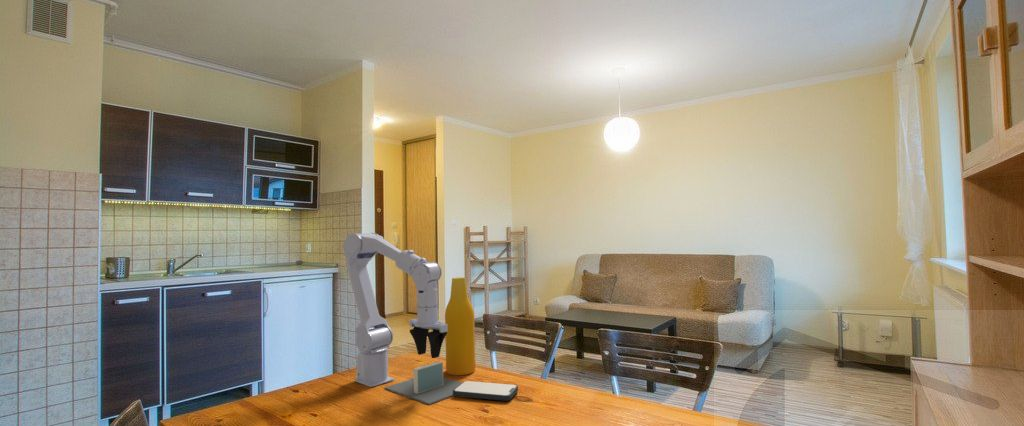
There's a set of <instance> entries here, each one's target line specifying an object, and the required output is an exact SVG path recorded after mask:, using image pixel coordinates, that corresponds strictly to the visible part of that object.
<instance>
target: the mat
mask: <svg viewBox="0 0 1024 426" xmlns="http://www.w3.org/2000/svg"><path fill="white" fill-rule="evenodd" d="M461 383H463V381H458V380H454V379H453V378H452V379H451V378H447V377H444V376H443V385H442V386H439V387H436V388H433V389H430V390H427V391H424V392H421V393H418V394H417V393H414V378H412V379H411V378H410V379H408V380H405V381H401V382H398V383H395V384H392V385H388V386H385V387H384V390H387V391H389V392H393V393H396V394H398V395H401V396H403V397H405V398H408V399H412V400H414V401H417V402H420V403H423V404H426V405H428V406H430V405H433V404H436V403H438V402H441V401H444V400H447V399H450V398H452V397H455V396H454V395H453V390H454V389H455V388H456V387H458V386H459V385H460V384H461Z"/></svg>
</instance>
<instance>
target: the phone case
mask: <svg viewBox="0 0 1024 426" xmlns="http://www.w3.org/2000/svg"><path fill="white" fill-rule="evenodd" d="M517 392H519V386H518V385H517V384H509V383H508V384H506V383H497V382H483V381H471V380H465V381H462V383H461V384H460V385H459V386H458V387H456V388H455V389H454V390H453V395H454V396H453V397H462V398H470V399H482V400H492V401H505V402H508V401H511V400H512V398H513V397H514V396H515V395H516V394H517Z"/></svg>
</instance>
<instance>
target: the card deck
mask: <svg viewBox="0 0 1024 426" xmlns="http://www.w3.org/2000/svg"><path fill="white" fill-rule="evenodd" d="M443 377H444V362H443V361H440V360H438V361H435V362H431V363H429V364H428V363H427V364H424V365H421V366H418V367H414V368H413V379H414V393H417V394H418V393H421V392H424V391H427V390H430V389H433V388H436V387H439V386H442V385H443Z"/></svg>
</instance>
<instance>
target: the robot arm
mask: <svg viewBox="0 0 1024 426" xmlns="http://www.w3.org/2000/svg"><path fill="white" fill-rule="evenodd" d="M342 247H343V248H342V249H343V252H344V255H345V259H346V260H345V262H346V263H345V264H346V268H347V273H348V276H349V282H350V285H351V288H352V292H353V296H354V299H355V300H354V301H355V304H356V308H357V311H358V315H359V319H360V322H359V323H358V325H357V326H356V327H355V330H354V331H355V334H356V335H355V336H356V337H355V343H356V344H355V345H356V348H357V350H359V353H357V356H356V378H355V379H353V381H354V382H356V383H357V384H358V383H359V384H362V385H364V386H366V387H370V388H373V387H376V386H380V385H382V384H383V385H384V384H386V383H389V382H392V381H395V378H394V377H391V376H389V360H388V359H389V358H388V357H389V356H388V355H389V353H388V350H389V349H390V345H391V344H392V342H393V340H394V333H393V330H392V329H391V327H390V326H389V324H388V320H387V319H385V318H384V317H382V316H381V315H380V312H379V308H378V306H377V301H376V298H375V293H374V290H373V286H372V282H371V279H370V275H369V271H368V267H367V265H368V264H369V262H370V261H371V260H372V259H374V257H375V256H376V255H377V254H380V255H382V256H384V257H386V258H388V259H390V260H392V261H394V262H395V267H396V268H398V269H399V270H401V271H402V272H404V273H405V274H408V275H409V276H411V278H412V281H413V282H414V285H415V289H416V310H417V311H416V317H417V318H413V319H412V318H411V319H409V327H410V328H411V329H409V333H410V335H411V336H412V339H413V341H414V343H415V347H416V351H417V355H419V356H420V355H423V354H426V352H427V340H428V341H429V346H430V347H429V348H430V356H431V358H432V359H437V358H439V357H440V354H441V349H442V345H443V343H444V340H445V336H446V334H447V331H448V324H445V322H443V321H440V320H439V293H438V290H439V289H438V288H439V286H438V281H440V279H441V277H442V268H441V266H440V265H439V263H437V262H436V261H429V262H428V261H427V259H426V258H425V257H421V256H419V255H417V254H416V253H415V251H414V250H413V249H405V250H401V249H399V248H398V247H396V246H395V245H394V244H392V243H390V242H389V241H387V240H386V239H384V236H382V235H379V234H378V233H376V232H370V233H354V232H353V233H350V234H348V235H347V236H346V238H345V240H344V242H343V244H342ZM430 330H431V331H430Z"/></svg>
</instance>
